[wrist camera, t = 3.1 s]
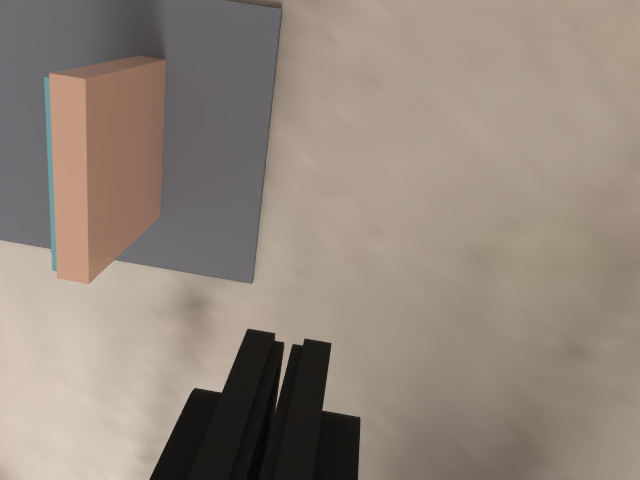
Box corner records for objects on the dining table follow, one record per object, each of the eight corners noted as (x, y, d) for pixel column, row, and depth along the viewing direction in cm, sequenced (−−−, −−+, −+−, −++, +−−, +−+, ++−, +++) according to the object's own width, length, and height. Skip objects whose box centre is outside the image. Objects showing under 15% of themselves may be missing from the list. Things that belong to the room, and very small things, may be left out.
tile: (165, 59, 27) (85, 78, 20) (160, 216, 30) (88, 283, 23) (133, 54, 27) (40, 71, 20) (130, 211, 30) (50, 277, 23)
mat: (282, 8, 26) (281, 8, 26) (253, 281, 32) (251, 283, 31) (-178, -63, 27) (-184, -64, 27) (-130, 214, 32) (-135, 216, 32)
